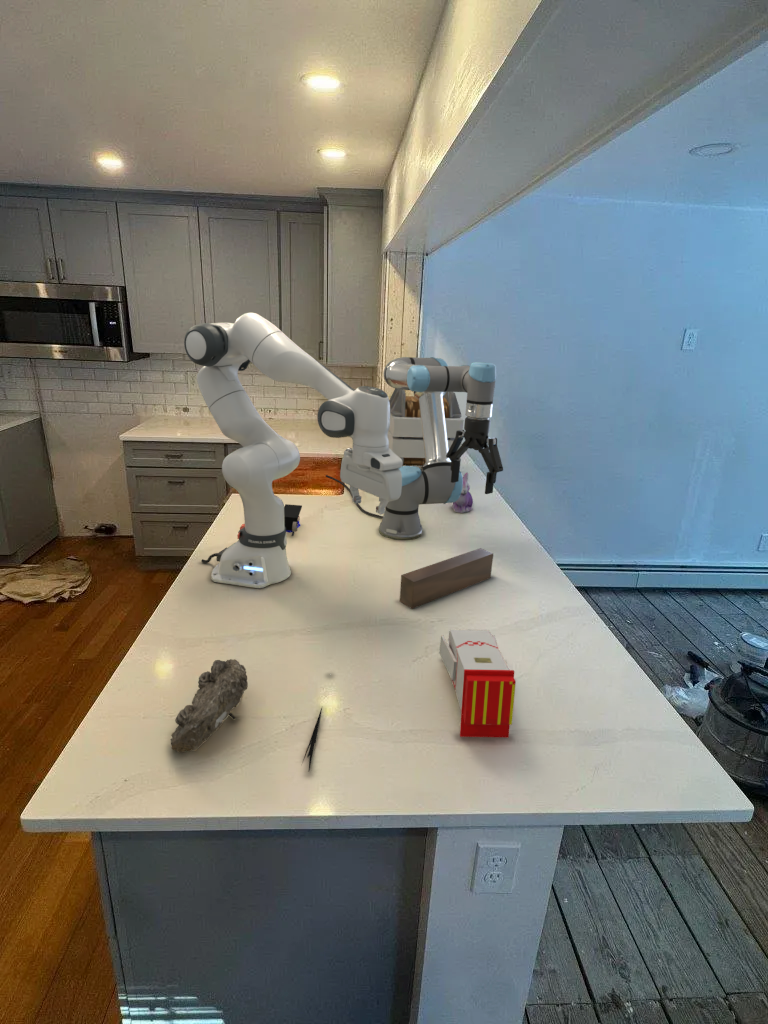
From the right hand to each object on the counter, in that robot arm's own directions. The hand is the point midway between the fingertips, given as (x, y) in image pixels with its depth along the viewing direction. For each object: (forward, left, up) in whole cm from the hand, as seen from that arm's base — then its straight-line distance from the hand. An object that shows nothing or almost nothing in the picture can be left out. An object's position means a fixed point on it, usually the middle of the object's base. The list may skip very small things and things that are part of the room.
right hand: (471, 487), depth 172 cm
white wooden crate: (-82, +59, -25) cm, 104 cm away
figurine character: (-53, -31, -25) cm, 66 cm away
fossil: (+20, -93, -25) cm, 98 cm away
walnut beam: (+10, -18, -25) cm, 32 cm away
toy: (+45, -48, -25) cm, 70 cm away
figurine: (-34, +37, -25) cm, 56 cm away
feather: (+33, -78, -25) cm, 88 cm away
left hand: (+2, -42, +2) cm, 42 cm away
